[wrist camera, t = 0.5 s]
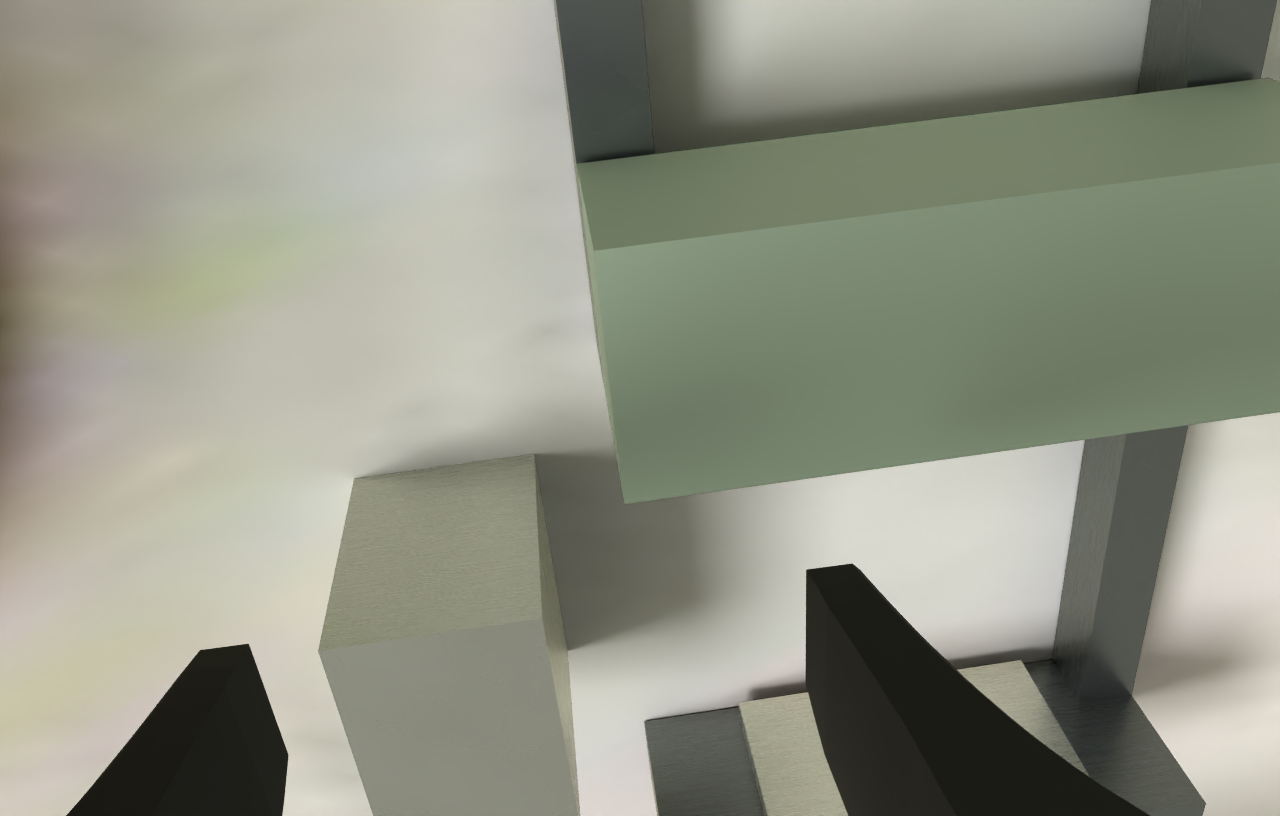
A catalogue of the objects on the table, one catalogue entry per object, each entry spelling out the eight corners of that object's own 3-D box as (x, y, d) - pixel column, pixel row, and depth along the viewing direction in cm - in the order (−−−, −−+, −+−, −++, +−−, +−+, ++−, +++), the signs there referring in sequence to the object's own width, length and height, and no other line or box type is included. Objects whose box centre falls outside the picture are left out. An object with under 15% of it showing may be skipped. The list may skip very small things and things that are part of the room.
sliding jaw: (1179, 287, 23) (1351, 416, 18) (599, 365, 22) (626, 518, 18) (1222, 60, 20) (1434, 143, 16) (571, 140, 20) (593, 251, 15)
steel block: (567, 649, 27) (581, 834, 22) (408, 672, 27) (390, 863, 22) (533, 452, 24) (542, 618, 19) (354, 476, 24) (318, 651, 19)
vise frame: (1091, 709, 30) (1189, 863, 26) (651, 776, 30) (676, 946, 25) (1245, -130, 19) (1459, -103, 15) (547, -50, 18) (562, 1, 14)
